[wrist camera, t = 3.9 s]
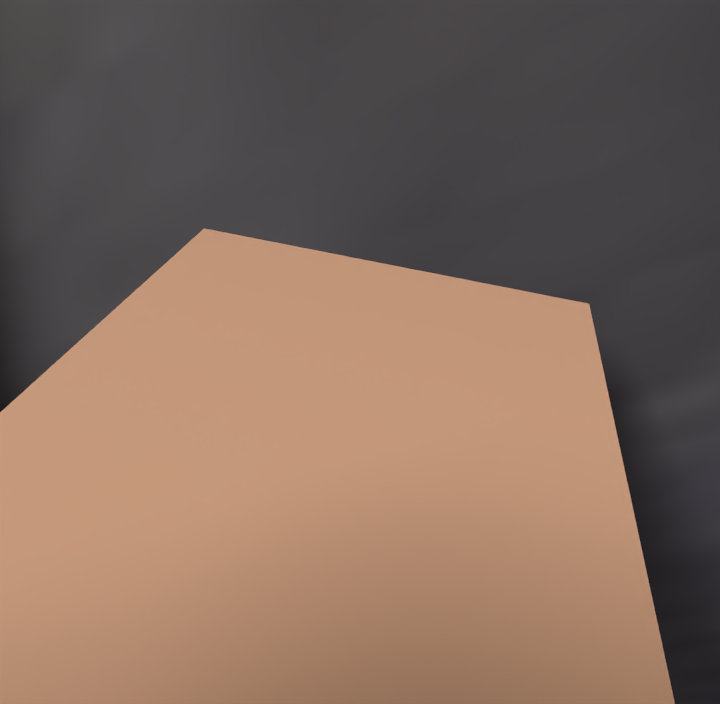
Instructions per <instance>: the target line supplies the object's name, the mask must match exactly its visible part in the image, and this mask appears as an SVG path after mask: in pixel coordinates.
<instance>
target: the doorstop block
mask: <svg viewBox="0 0 720 704" xmlns="http://www.w3.org/2000/svg"><path fill="white" fill-rule="evenodd" d="M0 704H675V702H674V697H673V692H672V688H671V683H670V678H669V674H668V669H667V664H666V660H665V655H664V651H663V646H662V641H661V637H660V632H659V627H658V623H657V618H656V613H655V609H654V604H653V599H652V595H651V590H650V585H649V581H648V576H647V571H646V567H645V562H644V557H643V553H642V548H641V543H640V539H639V534H638V530H637V525H636V520H635V516H634V511H633V506H632V502H631V497H630V492H629V488H628V483H627V478H626V474H625V469H624V464H623V460H622V455H621V450H620V446H619V441H618V436H617V432H616V427H615V422H614V418H613V413H612V409H611V404H610V399H609V395H608V390H607V385H606V381H605V376H604V371H603V367H602V362H601V357H600V353H599V348H598V343H597V339H596V334H595V329H594V325H593V320H592V315H591V311H590V306H589V304H587V303H582V302H577V301H572V300H567V299H562V298H557V297H551V296H546V295H541V294H536V293H531V292H526V291H521V290H516V289H511V288H505V287H500V286H495V285H490V284H485V283H480V282H475V281H470V280H465V279H460V278H454V277H449V276H444V275H439V274H434V273H429V272H424V271H419V270H414V269H408V268H403V267H398V266H393V265H388V264H383V263H378V262H373V261H368V260H362V259H357V258H352V257H347V256H342V255H337V254H332V253H327V252H322V251H317V250H311V249H306V248H301V247H296V246H291V245H286V244H281V243H276V242H271V241H265V240H260V239H255V238H250V237H245V236H240V235H235V234H230V233H225V232H219V231H214V230H209V229H203V230H202V231H201V232H200V233H199V234H198V235H196V236H195V237H194V238H193V239H192V240H191V241H190V242H189V243H188V244H186V245H185V246H184V247H183V248H182V249H181V250H180V251H179V252H178V253H176V254H175V255H174V256H173V257H172V258H171V259H170V260H169V261H168V262H167V263H165V264H164V265H163V266H162V267H161V268H160V269H159V270H158V271H157V272H155V273H154V274H153V275H152V276H151V277H150V278H149V279H148V280H147V281H145V282H144V283H143V284H142V285H141V286H140V287H139V288H138V289H137V290H135V291H134V292H133V293H132V294H131V295H130V296H129V297H128V298H127V299H125V300H124V301H123V302H122V303H121V304H120V305H119V306H118V307H117V308H115V309H114V310H113V311H112V312H111V313H110V314H109V315H108V316H107V317H106V318H104V319H103V320H102V321H101V322H100V323H99V324H98V325H97V326H96V327H94V328H93V329H92V330H91V331H90V332H89V333H88V334H87V335H86V336H84V337H83V338H82V339H81V340H80V341H79V342H78V343H77V344H76V345H74V346H73V347H72V348H71V349H70V350H69V351H68V352H67V353H66V354H64V355H63V356H62V357H61V358H60V359H59V360H58V361H57V362H56V363H54V364H53V365H52V366H51V367H50V368H49V369H48V370H47V371H46V372H45V373H43V374H42V375H41V376H40V377H39V378H38V379H37V380H36V381H35V382H33V383H32V384H31V385H30V386H29V387H28V388H27V389H26V390H25V391H23V392H22V393H21V394H20V395H19V396H18V397H17V398H16V399H15V400H13V401H12V402H11V403H10V404H9V405H8V406H7V407H6V408H5V409H3V410H2V411H1V412H0Z"/></svg>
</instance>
